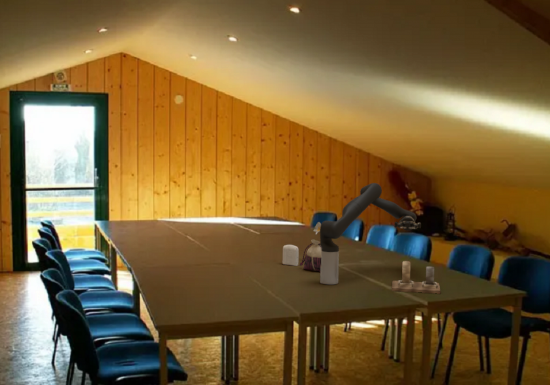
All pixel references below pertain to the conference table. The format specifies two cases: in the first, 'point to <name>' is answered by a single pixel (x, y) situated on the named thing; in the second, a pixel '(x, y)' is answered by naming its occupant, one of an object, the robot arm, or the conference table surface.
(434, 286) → the pin board
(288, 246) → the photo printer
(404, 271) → the maple pin
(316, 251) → the pouch
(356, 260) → the conference table surface
